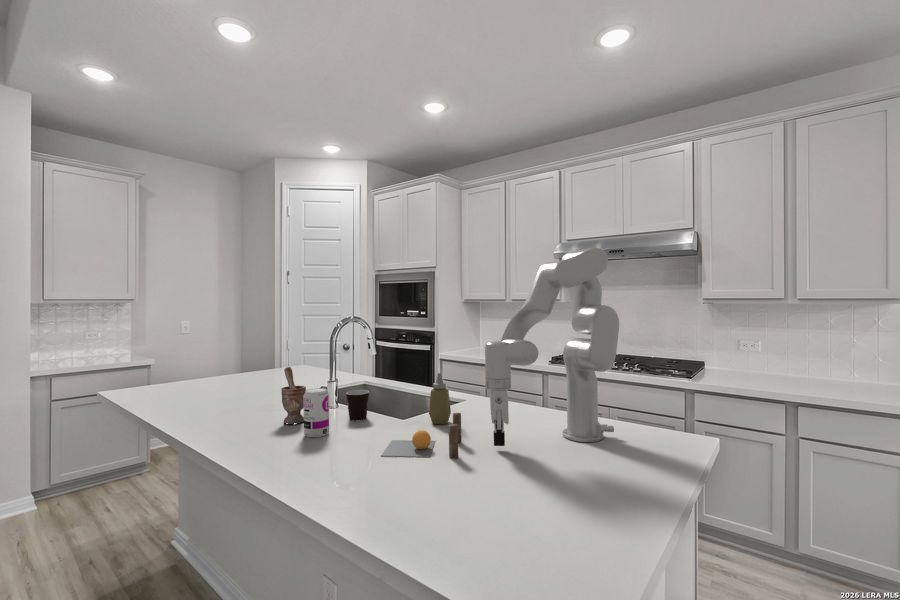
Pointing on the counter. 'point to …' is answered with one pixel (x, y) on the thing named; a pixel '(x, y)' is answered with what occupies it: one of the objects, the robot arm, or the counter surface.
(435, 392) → the squeeze bottle
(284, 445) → the counter surface
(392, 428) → the counter surface
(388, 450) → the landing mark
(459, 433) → the post
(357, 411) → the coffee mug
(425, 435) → the ball
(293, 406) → the mortar and pestle
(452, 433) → the post
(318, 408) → the supplement can
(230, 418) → the counter surface
